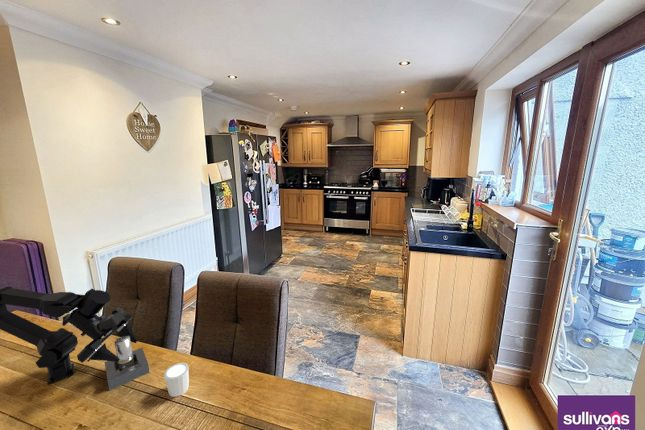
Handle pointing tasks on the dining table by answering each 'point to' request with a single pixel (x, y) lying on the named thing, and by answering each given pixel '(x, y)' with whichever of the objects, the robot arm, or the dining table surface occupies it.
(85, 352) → the robot arm
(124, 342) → the grey rounded cylinder
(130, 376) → the collar block
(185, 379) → the white cylinder
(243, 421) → the dining table surface
